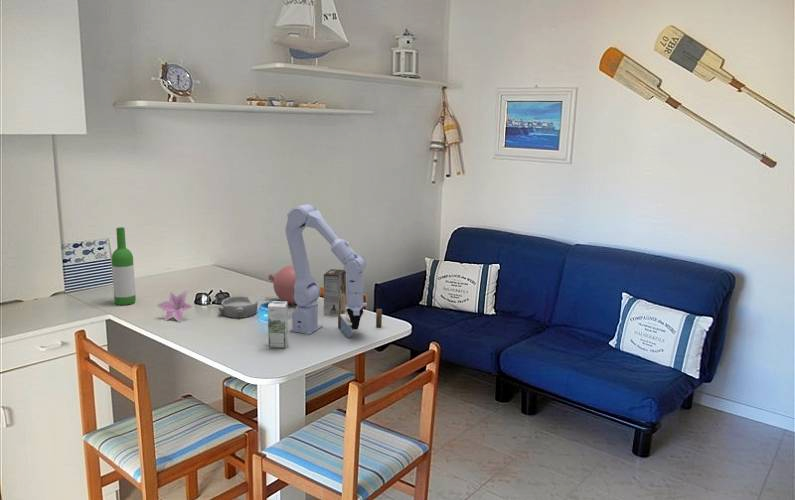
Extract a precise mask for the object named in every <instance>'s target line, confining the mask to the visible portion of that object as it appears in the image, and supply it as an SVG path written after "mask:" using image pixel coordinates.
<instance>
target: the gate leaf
mask: <svg viewBox="0 0 795 500" xmlns="http://www.w3.org/2000/svg"><path fill="white" fill-rule="evenodd" d="M340 316H341V330H342V332H343V333H344V334H345V336H346V337H347V338H352V328H351V325H352V323H351V321H350V318H349V317H348V316H347V315H346V313H345V314H340Z"/></svg>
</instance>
